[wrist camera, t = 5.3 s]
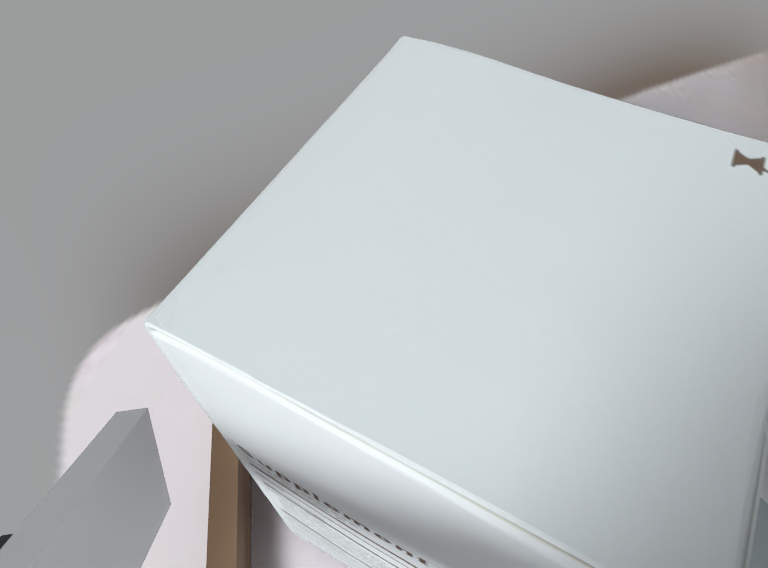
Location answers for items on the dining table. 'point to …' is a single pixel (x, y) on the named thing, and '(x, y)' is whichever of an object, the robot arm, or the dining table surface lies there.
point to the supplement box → (494, 327)
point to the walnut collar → (228, 508)
